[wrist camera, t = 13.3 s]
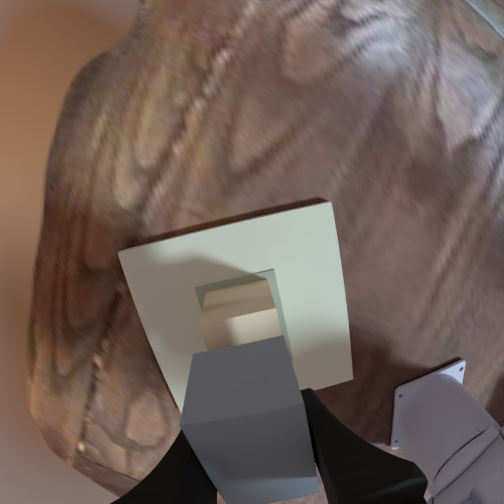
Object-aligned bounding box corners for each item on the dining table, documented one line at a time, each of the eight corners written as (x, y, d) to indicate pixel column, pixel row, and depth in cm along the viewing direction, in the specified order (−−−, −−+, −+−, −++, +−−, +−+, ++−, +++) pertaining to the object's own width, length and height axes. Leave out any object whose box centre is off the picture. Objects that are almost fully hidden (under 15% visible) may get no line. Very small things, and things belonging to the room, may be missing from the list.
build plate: (350, 375, 23) (353, 380, 23) (183, 410, 23) (182, 416, 23) (328, 201, 20) (331, 202, 19) (120, 250, 20) (117, 253, 19)
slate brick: (302, 426, 15) (320, 492, 10) (228, 441, 15) (229, 507, 10) (283, 334, 13) (304, 403, 9) (193, 353, 13) (179, 425, 9)
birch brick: (283, 355, 22) (294, 395, 17) (228, 367, 22) (228, 408, 17) (267, 278, 20) (276, 308, 16) (205, 292, 20) (199, 324, 16)
